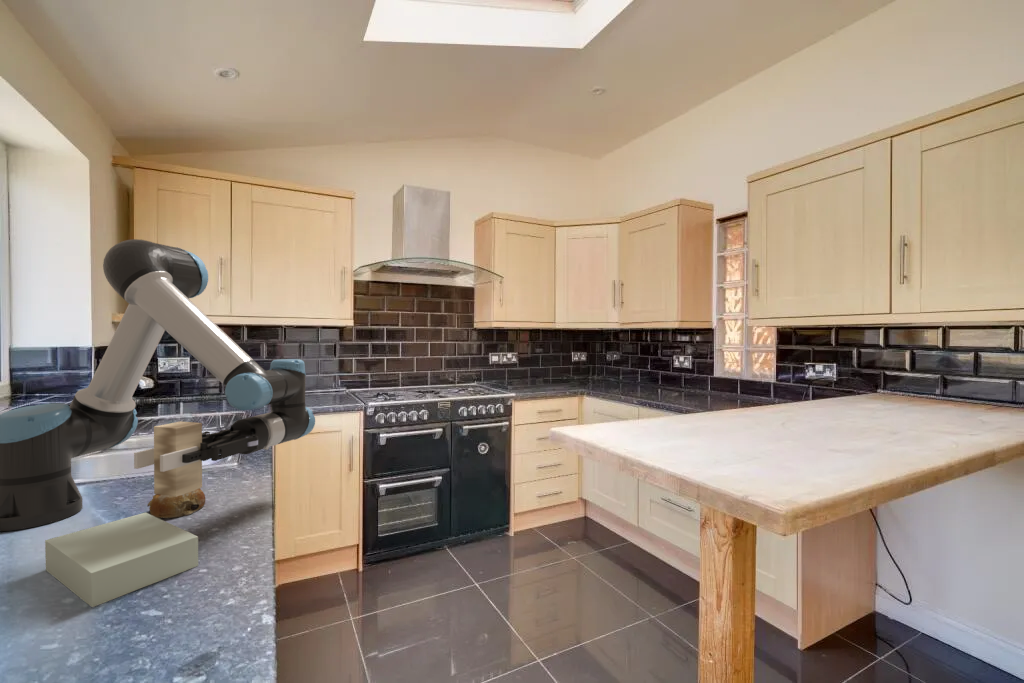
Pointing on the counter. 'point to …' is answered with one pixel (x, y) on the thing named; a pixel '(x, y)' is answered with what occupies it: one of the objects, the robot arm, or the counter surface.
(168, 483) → the birch block
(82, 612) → the counter surface
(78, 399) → the robot arm
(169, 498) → the bread roll
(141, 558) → the block
